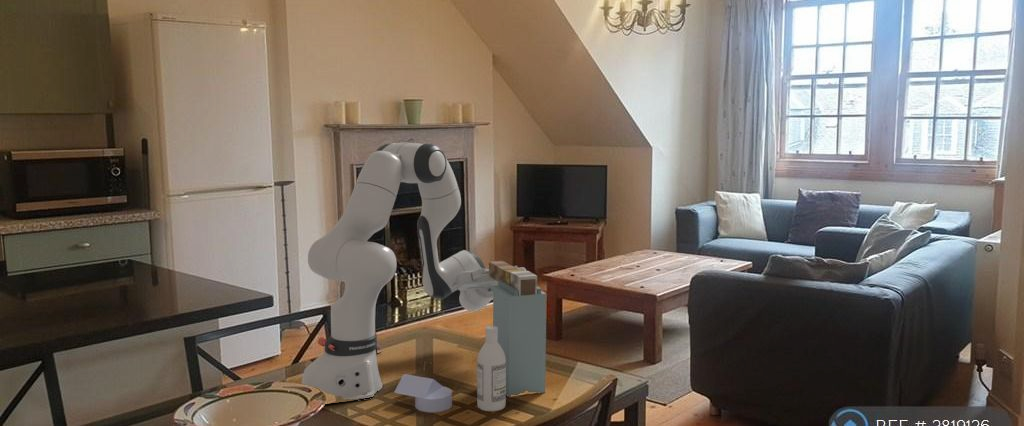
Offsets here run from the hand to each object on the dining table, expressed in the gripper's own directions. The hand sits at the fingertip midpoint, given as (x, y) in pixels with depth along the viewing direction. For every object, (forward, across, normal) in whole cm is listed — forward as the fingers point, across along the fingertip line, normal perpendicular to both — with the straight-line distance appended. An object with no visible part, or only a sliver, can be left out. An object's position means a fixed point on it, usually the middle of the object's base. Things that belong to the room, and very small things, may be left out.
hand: (499, 269), depth 215 cm
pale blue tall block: (-1, 0, +32) cm, 32 cm away
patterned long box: (+7, 0, +6) cm, 9 cm away
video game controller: (-39, -32, +11) cm, 51 cm away
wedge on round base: (+1, -25, +34) cm, 42 cm away
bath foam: (+8, -11, +37) cm, 40 cm away
